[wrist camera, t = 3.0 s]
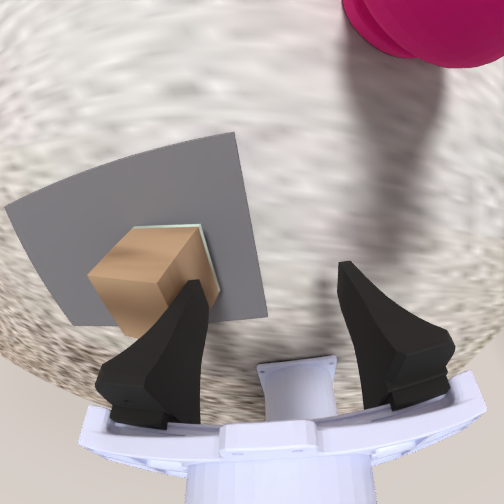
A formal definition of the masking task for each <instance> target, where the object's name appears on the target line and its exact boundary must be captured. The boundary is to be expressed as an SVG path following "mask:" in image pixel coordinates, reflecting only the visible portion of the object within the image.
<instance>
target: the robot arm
mask: <svg viewBox="0 0 504 504" xmlns="http://www.w3.org/2000/svg"><path fill="white" fill-rule="evenodd" d="M337 294H338V298H339V303H340V307H341V310H342V313H343V316H344V319H345V322H346V325H347V328H348V330H349V333H350V336H351V339H352V342H353V345H354V349H355V354H356V358H357V363H358V369H359V375H360V381H361V388H362V395H363V405H364V410H362V411H357V412H352V413H347V414H342V415H338V414H337V408H336V402H335V396H334V390H333V381H334V375H335V369H336V363H337V357H336V356H335V355H330V356H324V357H317V358H310V359H303V360H295V361H286V362H277V363H266V364H259V365H257V372H258V376H259V379H260V382H261V386H262V389H263V392H264V395H265V414H266V421H265V422H243V423H230V424H226V425H201V422H200V375H201V362H202V355H203V350H204V345H205V339H206V334H207V328H208V321H209V305H208V302H207V299H206V296H205V294H204V291H203V288H202V285H201V283H200V280H199V279H195V280H188V281H187V283H186V284H185V285H184V287H183V288H182V289H181V291H180V292H179V294H178V295H177V296H176V298H175V299H174V300H173V302H172V303H171V304H170V306H169V307H168V308H167V310H166V311H165V312H164V313H163V314H162V316H161V317H160V318H159V319H158V320H157V322H156V323H155V324H154V325H153V326H152V327H151V328H150V329H149V330H148V331H147V332H146V333H145V334H144V335H143V336H142V337H140V338H139V339H138V340H137V341H136V342H135V343H134V344H132V345H131V346H130V347H128V348H127V349H126V350H124V351H123V352H122V353H120V354H119V355H117V356H116V357H114V358H112V359H111V360H109V361H107V362H106V363H104V364H102V366H101V369H100V371H99V374H98V377H97V380H96V383H95V388H96V390H97V391H98V393H99V394H100V395H101V396H103V397H104V398H105V399H106V400H107V401H108V402H109V403H111V404H112V405H113V406H112V410H109V409H107V408H104V407H99V406H94V405H89V407H88V410H87V413H86V417H85V420H84V423H83V427H82V430H81V434H80V437H79V441H78V444H79V445H80V446H83V447H84V448H86V449H87V450H89V451H91V452H93V453H95V454H97V455H99V456H101V457H103V458H105V459H107V460H111V461H114V462H118V463H122V464H125V465H129V466H133V467H137V468H140V469H145V470H149V471H153V472H158V473H163V474H167V475H173V476H179V477H184V478H187V483H186V494H185V504H377V501H376V494H375V486H374V479H373V472H372V466H375V465H378V464H382V463H385V462H388V461H390V460H394V459H397V458H399V457H402V456H404V455H408V454H410V453H413V452H415V451H418V450H420V449H423V448H425V447H427V446H430V445H432V444H434V443H436V442H439V441H441V440H443V439H446V438H447V437H450V436H452V435H454V434H456V433H458V432H460V431H462V430H464V429H465V428H467V427H468V426H469V425H470V424H472V423H473V422H474V421H475V420H477V419H478V418H479V417H480V416H481V415H483V414H484V413H485V412H486V411H487V408H486V405H485V403H484V400H483V397H482V395H481V392H480V390H479V387H478V385H477V382H476V380H475V377H474V375H473V373H472V371H471V370H467V371H465V372H463V373H461V374H458V375H455V376H453V377H452V378H450V379H449V380H448V379H447V377H446V375H447V373H448V371H447V368H446V365H447V363H448V362H449V360H450V359H451V357H452V356H453V354H454V352H455V345H454V343H453V340H452V338H451V336H450V335H449V333H448V331H447V330H446V329H443V328H441V327H438V326H436V325H433V324H431V323H429V322H427V321H425V320H423V319H421V318H419V317H417V316H415V315H413V314H412V313H410V312H408V311H407V310H405V309H404V308H402V307H401V306H399V305H398V304H396V303H395V302H394V301H392V300H391V299H390V298H388V297H387V296H386V295H385V294H384V293H383V292H381V291H380V290H379V289H378V288H377V287H376V286H375V285H374V284H373V283H372V282H371V281H370V280H369V279H368V278H367V277H366V276H365V275H364V274H363V273H362V272H361V271H360V270H359V269H358V268H357V267H356V266H355V265H354V264H353V263H352V262H351V261H344V262H339V265H338V285H337Z"/></svg>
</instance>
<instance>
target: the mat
mask: <svg viewBox="0 0 504 504" xmlns="http://www.w3.org/2000/svg"><path fill="white" fill-rule="evenodd" d="M5 210H6V212H7V214H8V217H9V219H10V221H11V223H12V225H13V228H14V230H15V232H16V234H17V236H18V238H19V240H20V242H21V244H22V246H23V248H24V249H25V251H26V253H27V255H28V257H29V259H30V260H31V262H32V264H33V266H34V267H35V269H36V271H37V273H38V274H39V276H40V278H41V279H42V281H43V282H44V284H45V286H46V287H47V289H48V290H49V292H50V293H51V295H52V296H53V298H54V299H55V301H56V302H57V304H58V305H59V307H60V308H61V310H62V311H63V312H64V314H65V315H66V317H67V318H68V319H69V321H70V322H71V323H72V325H73V326H118V324H117V323H116V321H115V320H114V318H113V317H112V315H111V314H110V312H109V311H108V309H107V308H106V306H105V304H104V303H103V301H102V300H101V298H100V296H99V295H98V293H97V291H96V290H95V288H94V286H93V285H92V283H91V281H90V280H89V278H88V276H87V275H88V274H89V273H90V272H91V270H92V269H93V268H94V267H95V266H96V265H97V264H98V263H99V262H100V261H101V260H102V259H103V258H104V256H105V255H106V254H107V253H108V252H109V251H110V250H111V249H112V248H113V247H114V246H115V245H116V244H117V243H118V242H119V241H120V240H121V239H122V238H123V237H124V236H125V235H126V234H127V233H128V232H129V231H130V230H131V229H132V228H133V227H134V226H156V225H183V224H201V227H202V231H203V234H204V237H205V241H206V244H207V248H208V251H209V254H210V258H211V261H212V264H213V268H214V271H215V274H216V278H217V281H218V284H219V287H220V292H219V294H218V296H217V298H216V300H215V302H214V304H213V306H212V308H211V310H210V312H209V321H208V322H220V321H233V320H244V319H254V318H264V317H268V313H267V307H266V301H265V296H264V290H263V285H262V279H261V274H260V268H259V263H258V258H257V252H256V247H255V241H254V236H253V230H252V225H251V219H250V214H249V209H248V203H247V198H246V193H245V187H244V182H243V176H242V171H241V166H240V160H239V155H238V150H237V144H236V139H235V134H234V132H230V133H224V134H219V135H214V136H209V137H204V138H199V139H194V140H190V141H185V142H181V143H177V144H173V145H169V146H165V147H161V148H157V149H153V150H150V151H146V152H142V153H139V154H135V155H132V156H129V157H125V158H122V159H119V160H116V161H113V162H110V163H107V164H104V165H101V166H98V167H95V168H92V169H90V170H87V171H84V172H81V173H79V174H76V175H73V176H71V177H68V178H66V179H63V180H61V181H58V182H56V183H54V184H51V185H49V186H47V187H44V188H42V189H40V190H38V191H35V192H33V193H31V194H29V195H27V196H25V197H23V198H20V199H18V200H16V201H14V202H12V203H10V204H8V205H7V206H5Z"/></svg>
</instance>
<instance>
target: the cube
mask: <svg viewBox="0 0 504 504" xmlns="http://www.w3.org/2000/svg"><path fill="white" fill-rule="evenodd" d="M87 276H88V278H89V280H90V281H91V283H92V285H93V286H94V288H95V290H96V291H97V293H98V295H99V296H100V298H101V300H102V301H103V303H104V304H105V306H106V308H107V309H108V311H109V312H110V314H111V315H112V317H113V318H114V320H115V321H116V323H117V324H118V326H119V327H120V329H121V330H122V332H123V333H124V334H125V335H126V336H130V337H134V338H137V339H139V338H140V337H142V336H143V335H144V334H145V333H146V332H147V331H148V330H149V329H150V328H151V327H152V326H153V325H154V324H155V323H156V322H157V320H158V319H159V318H160V317H161V316H162V314H163V313H164V312H165V311H166V310H167V308H168V307H169V306H170V304H171V303H172V302H173V300H174V299H175V298H176V296H177V295H178V294H179V292H180V291H181V289H182V288H183V287H184V285H185V284H186V283H187V281H188V280H195V279H199V280H200V283H201V285H202V288H203V291H204V294H205V296H206V299H207V302H208V305H209V312H210V310H211V308H212V306H213V304H214V302H215V300H216V298H217V296H218V294H219V292H220V287H219V284H218V281H217V278H216V274H215V271H214V268H213V264H212V261H211V258H210V254H209V251H208V248H207V244H206V241H205V237H204V234H203V231H202V227H201V224H183V225H156V226H134V227H133V228H132V229H131V230H130V231H129V232H128V233H127V234H126V235H125V236H124V237H123V238H122V239H121V240H120V241H119V242H118V243H117V244H116V245H115V246H114V247H113V248H112V249H111V250H110V251H109V252H108V253H107V254H106V255H105V256H104V258H103V259H102V260H101V261H100V262H99V263H98V264H97V265H96V266H95V267H94V268H93V269H92V270H91V272H90V273H89V274H88V275H87Z"/></svg>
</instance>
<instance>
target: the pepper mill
mask: <svg viewBox="0 0 504 504" xmlns="http://www.w3.org/2000/svg"><path fill="white" fill-rule="evenodd" d="M342 1H343V6H344V9H345V12H346V14H347V17H348V18H349V20H350V22H351V24H352V25H353V26H354V28H355V29H356V30H357V31H358V33H359V34H360V35H361V36H362V37H363V38H364V39H365V40H366V41H368V42H369V43H370V44H371V45H373V46H374V47H376V48H377V49H379V50H381V51H382V52H384V53H387V54H389V55H392V56H395V57H399V58H420V59H422V60H424V61H426V62H428V63H431V64H434V65H437V66H440V67H445V68H473V67H478V66H481V65H485V64H488V63H491V62H493V61H496V60H498V59H499V58H501V57H503V56H504V0H342Z"/></svg>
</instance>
